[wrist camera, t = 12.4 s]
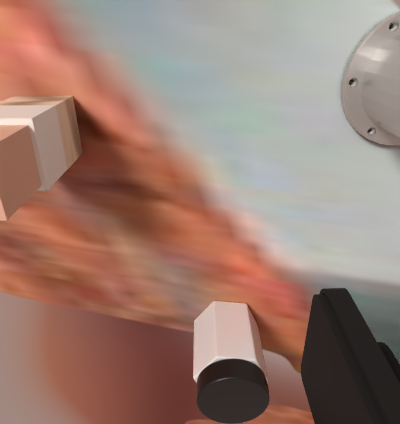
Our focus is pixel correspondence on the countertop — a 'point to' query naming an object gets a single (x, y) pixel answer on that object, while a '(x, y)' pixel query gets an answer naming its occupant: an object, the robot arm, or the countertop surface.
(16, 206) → the top block
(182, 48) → the countertop surface
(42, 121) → the middle block
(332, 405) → the robot arm
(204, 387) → the jar
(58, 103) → the base block
